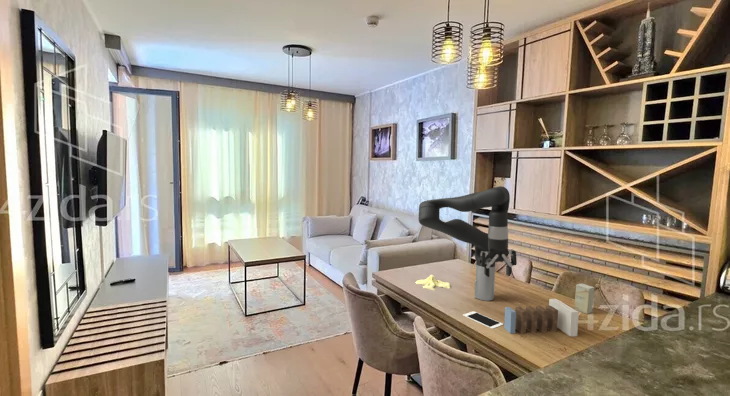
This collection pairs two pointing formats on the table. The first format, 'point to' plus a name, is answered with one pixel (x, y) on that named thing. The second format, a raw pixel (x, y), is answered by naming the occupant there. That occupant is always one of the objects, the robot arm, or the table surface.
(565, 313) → the block
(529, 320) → the walnut domino
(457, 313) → the table surface
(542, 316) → the walnut domino
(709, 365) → the table surface
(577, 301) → the skincare box
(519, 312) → the walnut domino
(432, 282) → the cloth
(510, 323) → the slate domino
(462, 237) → the robot arm
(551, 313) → the walnut domino
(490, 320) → the cell phone
